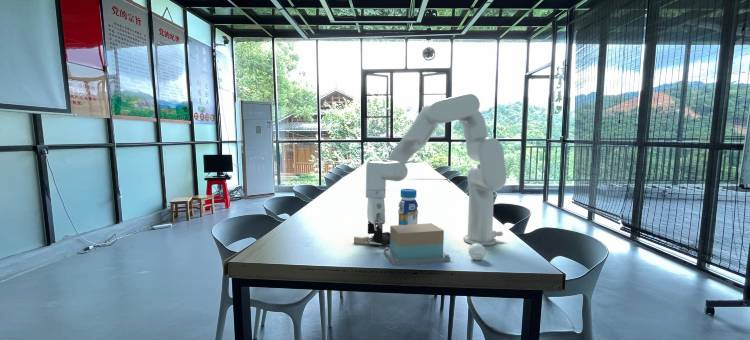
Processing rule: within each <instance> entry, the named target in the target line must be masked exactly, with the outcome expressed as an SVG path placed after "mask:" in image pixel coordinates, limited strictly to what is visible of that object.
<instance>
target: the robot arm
mask: <svg viewBox="0 0 750 340" xmlns="http://www.w3.org/2000/svg"><path fill="white" fill-rule="evenodd" d="M480 103H481V102H480V100H479V98H478V97H477V96H476V95H475V94H474V93H469V92H467V93H462V94H459V95H455V96H451V97H448V98H444V99H438V100H434V101H431V102H428V103H427V104H425V105H424V106H423V107H422V109H421V110H420V112H419V113H418V115H417V116H416V118H415V120H414V121H413V122H412V124H411V126H410V127H409V128H408V130H407V132H406V134H404V136H403V137H402V138H401V140H399V142H398V143H397V145H395V147H394V149H393V150H392V151H391V153H390V154H389V156H388V158H387V159H386V161H381V160H371V161H370V160H369V161H367V163H366V167H365V169H366V170H365V172H366V173H365V198H367V208H366V209H367V212H366V213H367V214H366V217H367V234H368V235H373V236H374V241H382V233H384V231H383V228H384V226H383V225H385V223H386V207H385V198H386V190H387V188H386V187H387V185H386V183H387V181H392V182H401V181H403V180H405V179H406V178H407V176H408V174H409V173H408V168H407V166H406V165H407V163H408V161H409V160H410V158H412V156H413V155H414V154H415V153H417V152H418V151H420V150H421V149H423V148H424V147H425V146H426V144H427V143H428V141H429V140H430V139H431V136H433V134H434V131H435V130H436V129H437V127H438V126H439V125H441V124H446V123H450V122H454V121H458V122H459V123H460V124H461V126H462V129H463V132H464V137H465V145H466V153H467V155H468V158H469V159H471V160H472V161H476V162H479V163H477V164H475V165H473V166H472V167H470V169H469V170H468V172H467V186H468V215H467V234H465V235H464V236H463V241H464V242H465V243H467V244H470V245H472V244H475V243H478V244H481V245H482V246H483V247H485V246H486V247H488V246H493V245H495V244H497V239H496V237H503V235H504V234H503V232H502V231H496V230H494V229H493V227H494V226H493V223H494V204H495V203H494V201H495V200H494V192H497V191H500V190H501V189H502V188H503V187H504V186H505V184H506V182H507V181H506V180H507V169H506V161H505V153H504V148H503V146H502V143H501V142H500V141H499V140H498V139H496V138H495V137H491V136H489V135H488V129H487V123H486V120H485V117H484V116H483V114H482V112H481V111H480V105H481V104H480ZM373 230H374V232H372V231H373Z"/></svg>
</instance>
